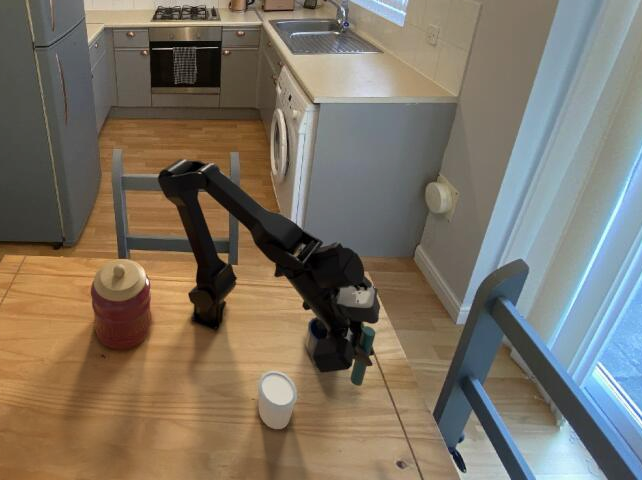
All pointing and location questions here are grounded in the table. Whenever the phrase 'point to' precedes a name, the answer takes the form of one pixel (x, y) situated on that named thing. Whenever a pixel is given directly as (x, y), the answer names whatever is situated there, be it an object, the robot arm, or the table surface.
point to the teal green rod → (366, 344)
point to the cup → (314, 336)
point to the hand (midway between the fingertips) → (371, 360)
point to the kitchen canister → (121, 304)
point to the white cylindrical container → (276, 398)
